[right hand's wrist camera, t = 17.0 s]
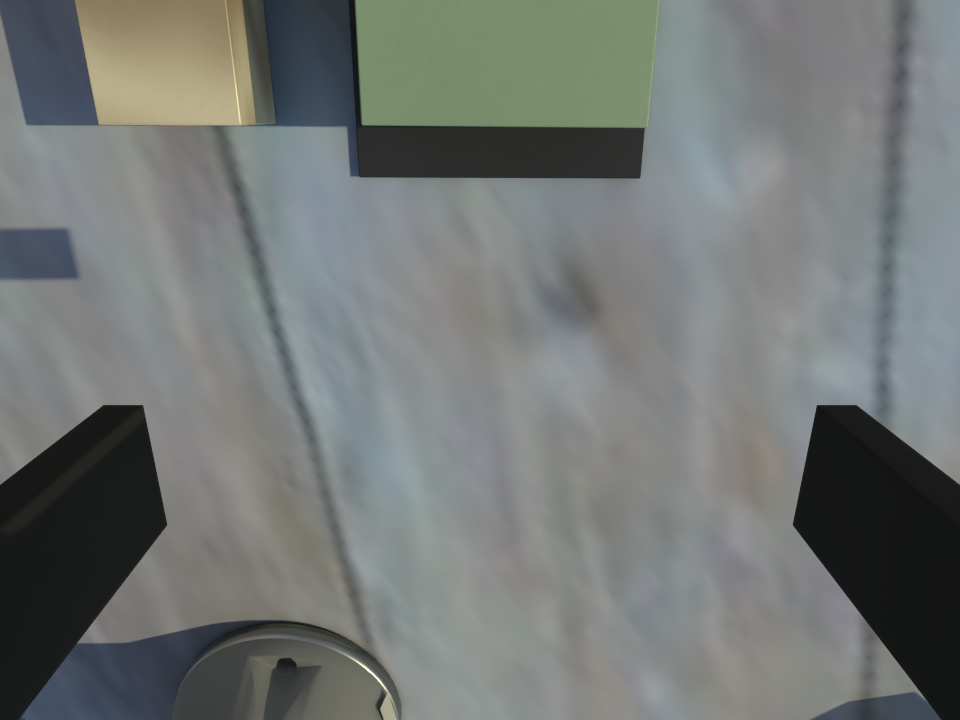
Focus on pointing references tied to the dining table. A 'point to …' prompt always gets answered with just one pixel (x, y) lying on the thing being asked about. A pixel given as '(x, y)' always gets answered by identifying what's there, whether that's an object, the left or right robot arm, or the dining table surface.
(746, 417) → the dining table surface
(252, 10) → the birch plank
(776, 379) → the dining table surface
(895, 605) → the right robot arm
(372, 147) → the rubber mat
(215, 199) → the dining table surface
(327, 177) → the dining table surface
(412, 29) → the sage block
